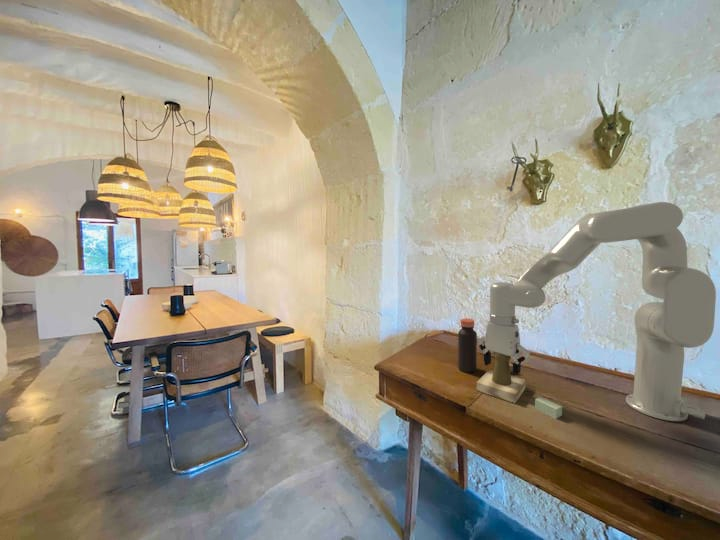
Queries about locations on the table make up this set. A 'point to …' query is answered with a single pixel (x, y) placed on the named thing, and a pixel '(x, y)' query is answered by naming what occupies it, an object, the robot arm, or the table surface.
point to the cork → (501, 369)
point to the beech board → (501, 387)
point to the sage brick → (548, 407)
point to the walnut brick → (510, 367)
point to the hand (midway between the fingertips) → (501, 368)
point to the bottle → (467, 347)
